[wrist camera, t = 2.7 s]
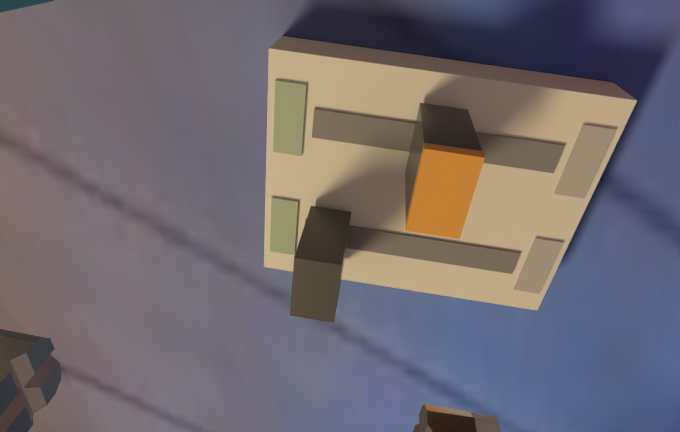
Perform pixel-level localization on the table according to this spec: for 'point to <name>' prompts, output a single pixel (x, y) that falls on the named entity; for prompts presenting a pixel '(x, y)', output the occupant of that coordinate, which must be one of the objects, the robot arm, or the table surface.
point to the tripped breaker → (441, 171)
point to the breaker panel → (392, 156)
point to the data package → (18, 4)
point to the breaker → (319, 264)
